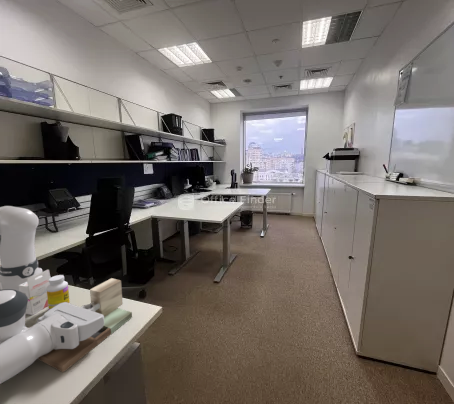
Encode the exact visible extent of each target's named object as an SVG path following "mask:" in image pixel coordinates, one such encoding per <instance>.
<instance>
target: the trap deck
mask: <svg viewBox="0 0 454 404" xmlns="http://www.w3.org/2000/svg"><path fill="white" fill-rule="evenodd" d="M132 318H133V312H132V311H129V310H125V309H122V308H119V307H118V308H117V309H115V310H114V311H112V312H111V313H109V314H108V315H106V316H105V317H104V326H103V327H102V328H101V329H100V330H99V331H97V332H96V333H95V334H93V335H92V336H90V337H89V338H87V339H86V340H83V341H79V345H78V346H77V347H76V348H74V349H57V350H55V349H53V350H52V351H50V352H49V353H47V354H45V355H42V356H40V357H39V358H38V359H37V360H38V361H41V362H43V363H45V364H47V365H48V366H50V367H52V368H54V369H55V370H58V371H60V372H62V373H65V371H67V370H68V369H70V368H71V367H72V366H73V365H75V364H76V363H77V362H78V361H80V360H81V359H82V358H83V357H84V356H86V354H88V353H89V352H91V351H92V350H93V349H94V348H96V347H97V346H98V345H100V344H101V343H102V342H103V341H105V339H107V338H108V337H109V336H111V335H112V334H113V333H115V332H116V331H117V330H118V329H119V328H120V327H122V326H124V324H126V323H127V322H128V321H129V320H130V319H132Z"/></svg>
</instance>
